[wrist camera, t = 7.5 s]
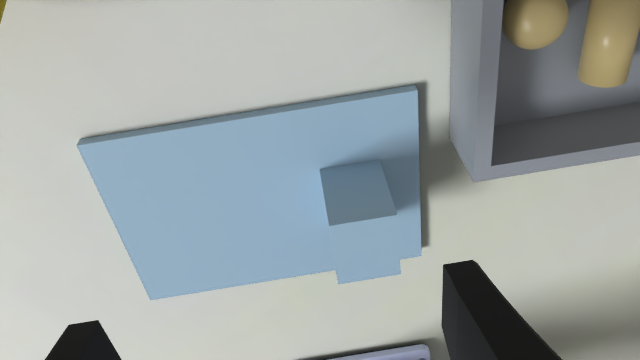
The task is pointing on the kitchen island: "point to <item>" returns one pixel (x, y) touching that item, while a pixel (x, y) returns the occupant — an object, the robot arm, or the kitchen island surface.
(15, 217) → the kitchen island surface
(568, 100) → the tub
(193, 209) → the lid
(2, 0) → the lemon
